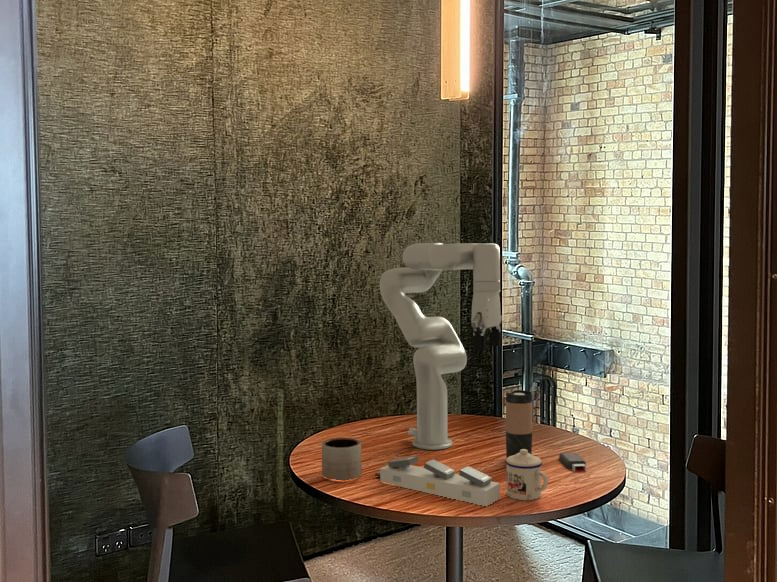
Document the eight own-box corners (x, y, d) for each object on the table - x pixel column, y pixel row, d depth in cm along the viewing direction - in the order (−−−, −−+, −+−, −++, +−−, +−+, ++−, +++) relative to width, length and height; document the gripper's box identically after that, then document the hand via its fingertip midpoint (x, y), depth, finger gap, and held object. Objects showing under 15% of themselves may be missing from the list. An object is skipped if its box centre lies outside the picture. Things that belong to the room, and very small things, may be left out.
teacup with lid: (498, 494, 195) (498, 449, 194) (522, 486, 200) (522, 443, 200) (534, 507, 185) (534, 459, 185) (558, 498, 191) (559, 452, 190)
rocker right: (458, 475, 192) (460, 469, 191) (466, 471, 195) (468, 465, 195) (482, 487, 188) (484, 481, 188) (490, 482, 191) (491, 477, 191)
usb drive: (576, 460, 225) (576, 450, 225) (589, 472, 214) (589, 462, 213) (558, 460, 225) (559, 451, 225) (570, 473, 213) (570, 463, 213)
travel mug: (532, 464, 220) (532, 395, 218) (505, 463, 221) (505, 394, 220) (532, 457, 227) (532, 390, 226) (506, 456, 229) (506, 389, 227)
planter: (331, 485, 203) (331, 450, 203) (316, 474, 213) (315, 440, 212) (368, 479, 208) (368, 444, 208) (351, 468, 218) (351, 435, 217)
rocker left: (389, 467, 204) (387, 462, 205) (397, 463, 208) (396, 458, 208) (409, 465, 200) (408, 459, 201) (418, 461, 204) (417, 455, 204)
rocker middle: (423, 467, 198) (424, 462, 198) (432, 464, 201) (433, 459, 201) (446, 479, 194) (447, 474, 194) (454, 475, 197) (455, 470, 197)
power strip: (368, 480, 207) (367, 462, 207) (383, 473, 213) (383, 456, 212) (486, 507, 186) (486, 487, 185) (500, 498, 191) (500, 479, 191)
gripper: (488, 285, 226) (488, 343, 227) (460, 289, 211) (461, 350, 212) (511, 286, 222) (512, 344, 223) (485, 289, 207) (486, 352, 208)
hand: (487, 347), depth 218 cm, fingers open, 9 cm apart
